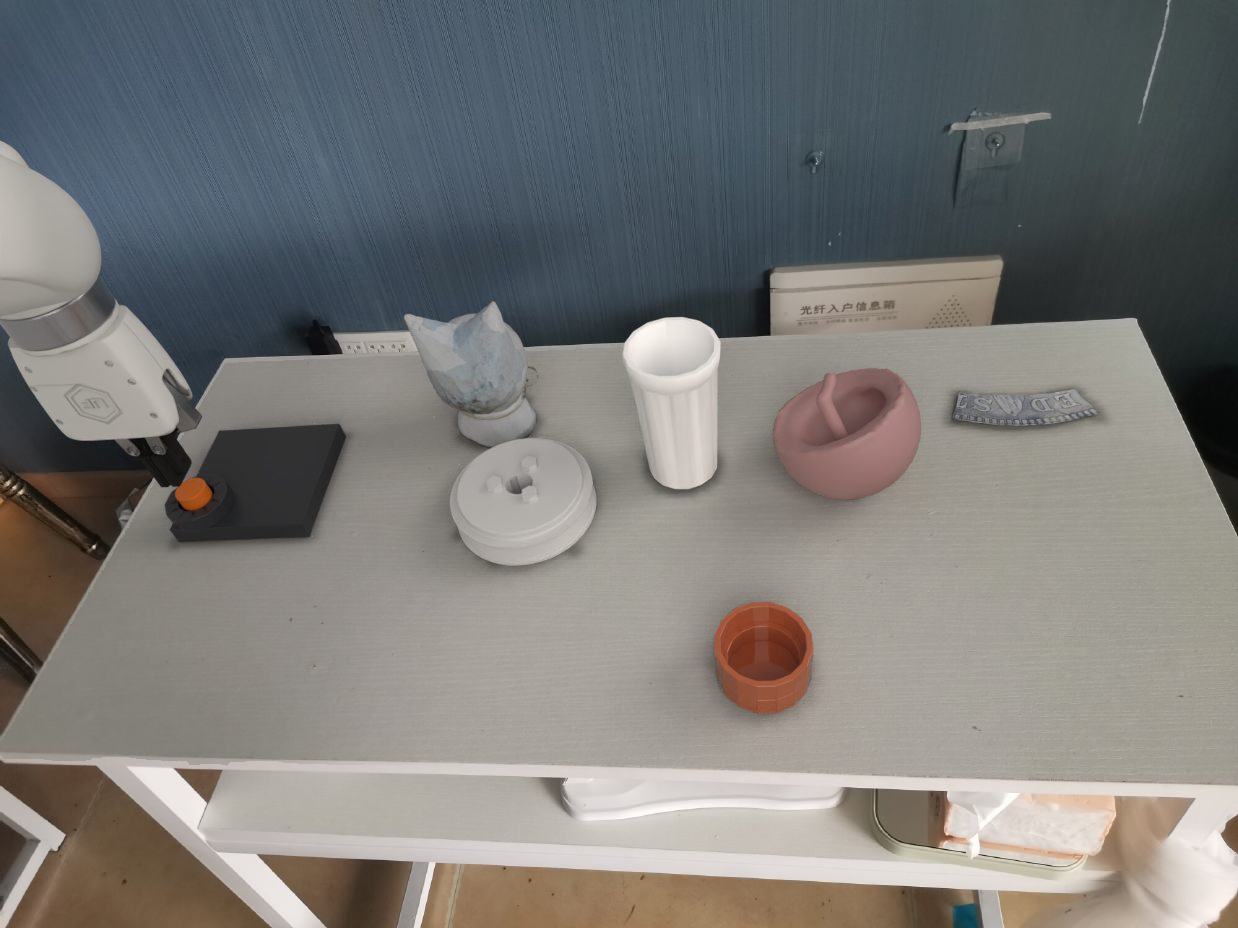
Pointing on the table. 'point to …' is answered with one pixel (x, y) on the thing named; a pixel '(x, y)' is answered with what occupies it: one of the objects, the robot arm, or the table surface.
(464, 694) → the table surface
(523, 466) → the gray bolted wheel hub
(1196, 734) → the table surface
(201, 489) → the button
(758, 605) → the flower pot
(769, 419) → the table surface
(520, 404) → the figurine
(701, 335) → the cup
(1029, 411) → the coin fragment
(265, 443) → the scale
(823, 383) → the mortar and pestle
